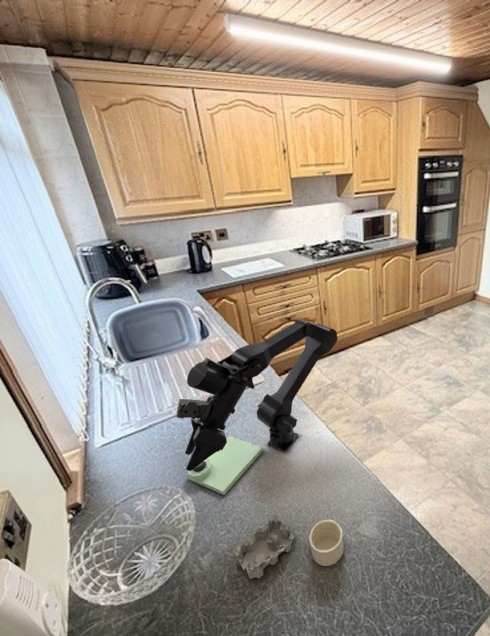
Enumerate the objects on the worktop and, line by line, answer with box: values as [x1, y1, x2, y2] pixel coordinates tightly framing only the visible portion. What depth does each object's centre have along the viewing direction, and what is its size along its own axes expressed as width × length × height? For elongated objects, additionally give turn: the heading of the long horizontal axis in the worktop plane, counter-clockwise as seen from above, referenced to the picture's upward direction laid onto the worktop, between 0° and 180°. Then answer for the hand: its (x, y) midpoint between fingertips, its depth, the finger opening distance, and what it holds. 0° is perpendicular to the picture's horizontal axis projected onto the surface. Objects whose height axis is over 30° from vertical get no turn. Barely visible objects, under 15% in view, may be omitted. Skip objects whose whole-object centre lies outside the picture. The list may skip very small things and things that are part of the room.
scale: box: [186, 435, 264, 496], centre depth 93 cm, size 15×13×3 cm
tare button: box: [194, 461, 205, 472], centre depth 90 cm, size 3×3×2 cm
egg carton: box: [234, 514, 295, 580], centre depth 72 cm, size 11×8×4 cm
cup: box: [308, 519, 345, 567], centre depth 71 cm, size 7×7×5 cm
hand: (187, 461), depth 78 cm, fingers open, 9 cm apart
